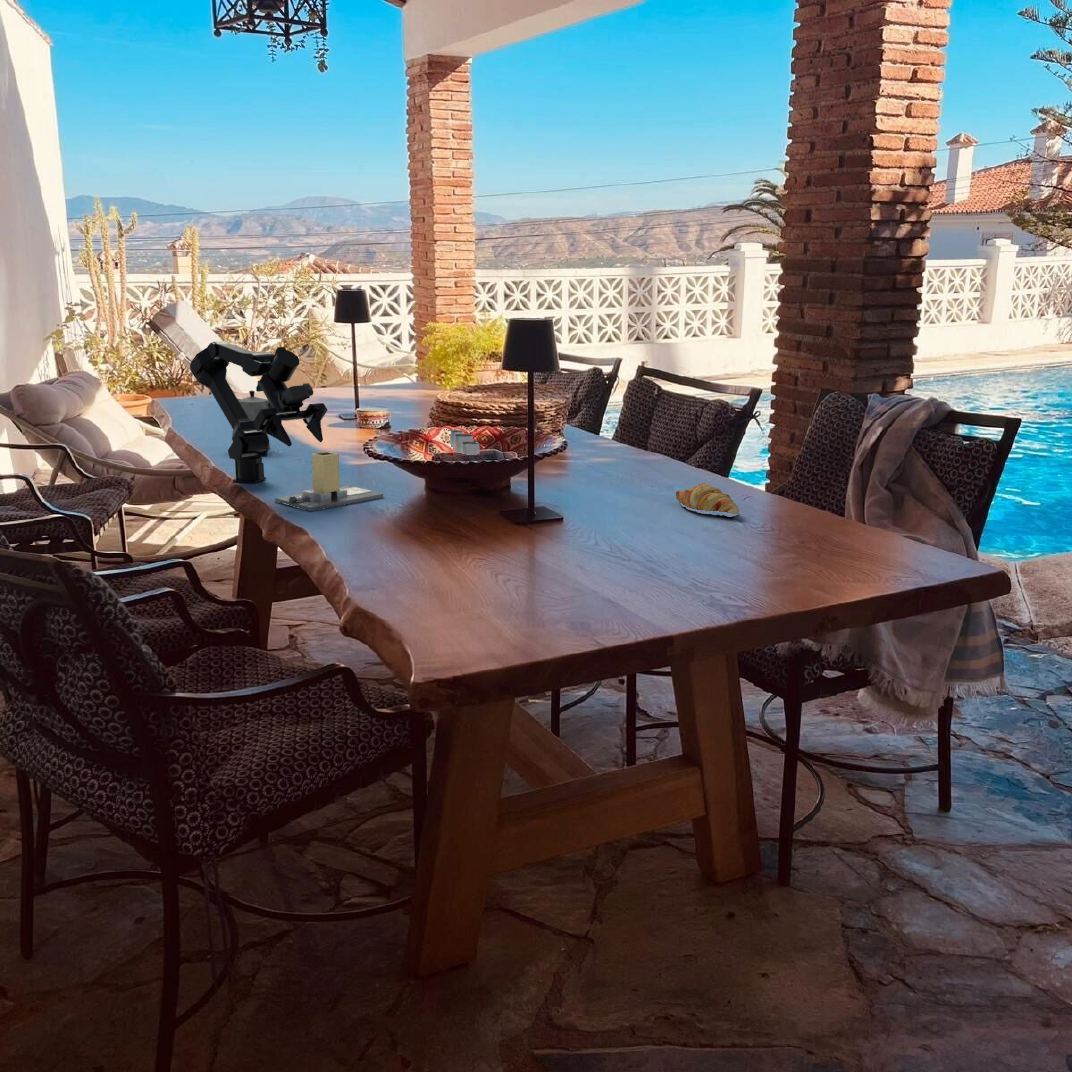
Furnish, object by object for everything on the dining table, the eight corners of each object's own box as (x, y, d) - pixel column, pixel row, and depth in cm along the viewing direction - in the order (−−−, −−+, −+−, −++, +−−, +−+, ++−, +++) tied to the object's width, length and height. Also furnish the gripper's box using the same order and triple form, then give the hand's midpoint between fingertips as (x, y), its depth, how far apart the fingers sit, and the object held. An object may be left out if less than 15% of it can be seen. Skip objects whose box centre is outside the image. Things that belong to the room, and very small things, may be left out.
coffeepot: (277, 445, 327) (274, 388, 323) (276, 451, 319) (273, 392, 314) (226, 446, 324) (222, 389, 320) (224, 452, 315) (220, 392, 311)
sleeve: (312, 490, 252) (311, 453, 250) (328, 487, 255) (327, 451, 253) (324, 493, 249) (323, 456, 247) (339, 490, 253) (338, 453, 250)
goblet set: (483, 489, 269) (484, 438, 266) (462, 490, 267) (462, 439, 264) (451, 469, 295) (450, 423, 291) (431, 471, 292) (431, 424, 289)
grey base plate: (272, 502, 250) (271, 473, 248) (347, 489, 266) (347, 462, 264) (307, 512, 241) (306, 482, 239) (383, 497, 257) (382, 469, 255)
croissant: (745, 533, 243) (759, 502, 243) (719, 518, 237) (733, 486, 237) (683, 513, 260) (696, 484, 260) (657, 499, 254) (670, 469, 254)
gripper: (257, 375, 247) (287, 426, 243) (321, 370, 260) (350, 419, 256) (240, 405, 254) (269, 455, 250) (304, 399, 267) (331, 446, 263)
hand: (306, 443), depth 254 cm, fingers open, 9 cm apart
